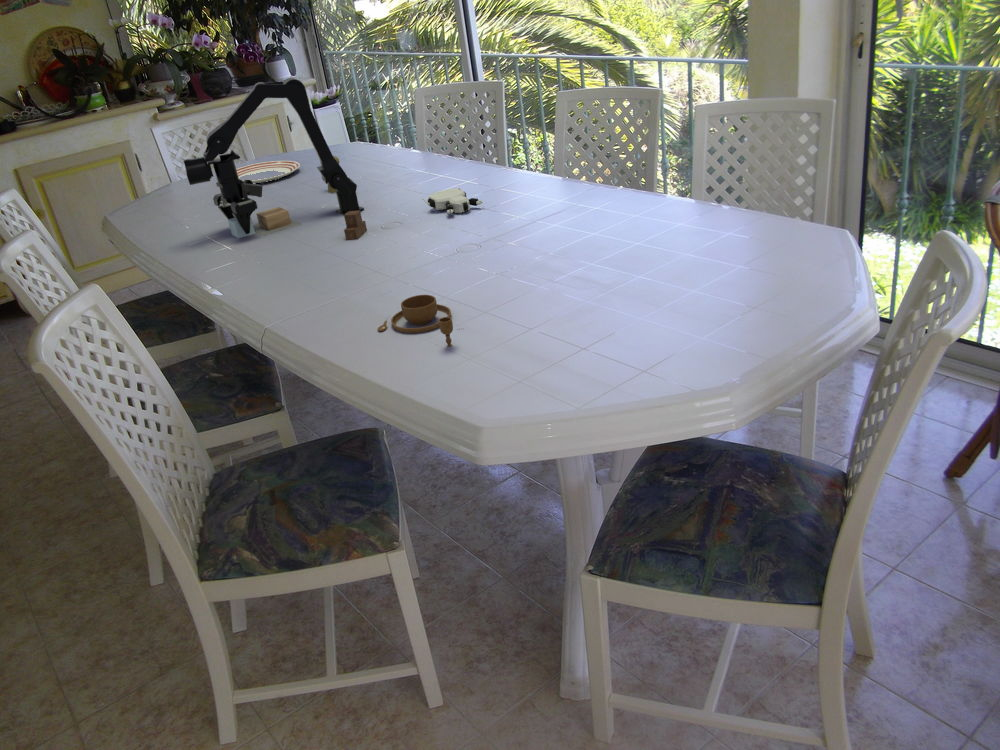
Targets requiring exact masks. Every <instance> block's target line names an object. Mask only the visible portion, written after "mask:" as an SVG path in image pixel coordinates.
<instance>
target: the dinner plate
mask: <svg viewBox="0 0 1000 750" xmlns="http://www.w3.org/2000/svg"><path fill="white" fill-rule="evenodd" d="M300 166H301V164H300V163H299V162H297V161H294V160H273V161H271V160H270V161H263V162H262V161H261V162H258V163H257V162H256V163H252V164H248V165H246V166H241V167H238V168H236V170H237V173H238V177H239V178H240V177H242V176H245V175H250V174H251V175H252V174H256V173H260V172H266V171H273V170H274V171H278V172H285V174H281V175H278V176H274V177H270V178H264V179H258V180H252V182H253V183H260V182H266V181H270V180H275V179H278V178H281V179H283V178H282V177H284V176H286V177H288V176H289V175H291V174H292V173H293V172H295V171H297V170H298V169H299V168H300ZM284 178H285V177H284ZM278 180H279V179H278ZM275 181H276V180H275Z"/></svg>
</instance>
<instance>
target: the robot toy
mask: <svg viewBox="0 0 1000 750" xmlns="http://www.w3.org/2000/svg"><path fill="white" fill-rule="evenodd" d="M421 199H422V200H423V201H424V202H425V203H426V204H427V206H429V207H431V208H433V209H434V210H437V211H439V210H441V211H444V210H446V213H447V214H449V215H450V214H453V213H454V212H455V213H454V214H456V213H459V214H463V213H465V211H466V212H468V211H470V208H471V207H470V206H473V207H477V206H479V205H482V204H483V203H484V202H483V200H479V199H478V198H475V197H471V198H470V199H469V198H468V197H467V192H465V191H464V190H462V189H461V188H460V187H459V186H458V187H457V188H448V189H443V190H439V191H436V192H433V193H431V194H430V195H429V196H428V199H427V200H426V199H425V198H424V197H421ZM467 210H468V211H467ZM462 212H463V213H462Z"/></svg>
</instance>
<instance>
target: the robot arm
mask: <svg viewBox="0 0 1000 750" xmlns="http://www.w3.org/2000/svg"><path fill="white" fill-rule="evenodd" d="M266 99H286V100H287V101H288V102H289V104H290V106H291V107H292V108H293V109H294V110H295V111H294V112H296V114H297V115H298V117H299V120H300V121H301V124H302V125H303V128H304V130H305V132H306V134H307V136H308V138H309V141H310V142H311V144H312V146H313V149H314V150H315V153H316V154H317V157H318V159H319V162H320V165H319V166H317V167H316V168H317V170H318V172H320V175H321V179H322V181H323V182H324V183H325V184H326V185H328V184H329V185H330V186H331V187H332V188H334V189H336V190H337V191H336V193H335V194H336V199H337V203H338V207H339V209H337V210H335V213H337V214H340V215H343V216H344V215H345V214H346V213H347V212H348V211H360V212H361V211H364V210H365V207H362V206H360V205H359V200H358V195H357V187H358V185H357V184H356V182H355V181H353V179H351V178H350V177H348V175H347V174H346V172H345V170H343V167H342V166H341V165H340V163H339V164H338V162H337V161H336V160H335V158H334V157H333V156H334V155H333V153H332V152H331V149H330V147H329V145H328V143H327V141H326V139H325V137H324V134H323V133H322V131H321V128H320V126H319V125H318V122H317V120H316V118H315V116H314V113H313V111H312V109H311V104H310V100H309V96H308V92H307V90H306V86H305V84H304V83H303V82H302V81H301V80H299V79H297V78H295V77H288V78H286V79H284V80H283V81H271V82H270V81H269V82H262V81H258V82H257V83H255V84H254V85H253V87H252V89H251V90H250V91H249V92H248V94H246V96H245V97H244V98H243V100H241V102H240V103H239V104H238V106H236V108H235V109H234V111H233V112H232V113H231V114H230V115H229V116H228V117H227V119H226V120H223V122H221V123H220V124H218V125H217V126H216V127H215V128H213V129H212V130H210V132H208V134H207V135H206V138H205V139H206V148H205V150H204V152H203V155H202V156H200V157H195V158H187V159H186V158H185V159H183V164H184V168H185V171H186V172H185V174H186V177H187V180H188V183H189V185H190V186H193V185H198V184H203V183H207V182H211V179H212V178H213V177H214V173H215V177H216V180H217V182H216V183H215V184H216V187H218V188H219V190H220V193H217V194H214V196H213V198H212V201H213V203H214V206H216V207H217V209H218V210H219V211H221V213H222V214H223V215H224V216H225V218H226V219H227V220H228V219H232V218H235V219H236V220H237V222H238V223H239V225H240V226H241V228H242V229H243V230H244V232H245V233H246V234H249V233H250V217H251V216H252V214H253V212H255V211H256V210H258V209H259V207H258V203H257V201H255V199H253V198H250V196H251V197H257V198H262V197H263V185H261V184H253V182H252V180H248V179H245V180H244V181H243V180H241V179H239V177H238V173H237V170H236V169H237V167H236V164H235V163H236V162H235V160H239V159H241V156H240V154H239V153H236V152H235V151H234V150H233V149H231V150H230V151H229V148H230V147H231V146H232V144H233V143H234V140H235V138H236V135H237V134H238V132H239V130H240V129H241V128H242V126H243V125H245V123H246V122H247V121H248V119H249V118H250V117H251V116H252V115H253V113H254V112H255V111H256V110H257V109H258V108H259V106H260V105H261V104H262V103H263V102H264V101H265V100H266ZM228 151H229V152H228ZM227 152H228V153H227ZM218 156H219V158H217V157H218ZM211 165H212V167H213V169H214V173H213V170H212V167H211Z"/></svg>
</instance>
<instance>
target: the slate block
mask: <svg viewBox="0 0 1000 750" xmlns="http://www.w3.org/2000/svg"><path fill="white" fill-rule="evenodd" d="M227 221H228V226H229V228H230V232H231V235H232V236H234V237H235V238H237V239H241V238H244V237H248V236H250V235H253V234H255V233H256V232H255V231H254V227H253V225H254V224H253V221H252V218H251V217H250V233H249V234H246V233H245V232H244V230H243V229H242V228H241V226H240V225H239V223H238V222H237V220H236V219H235V218H232V219H227Z"/></svg>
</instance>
